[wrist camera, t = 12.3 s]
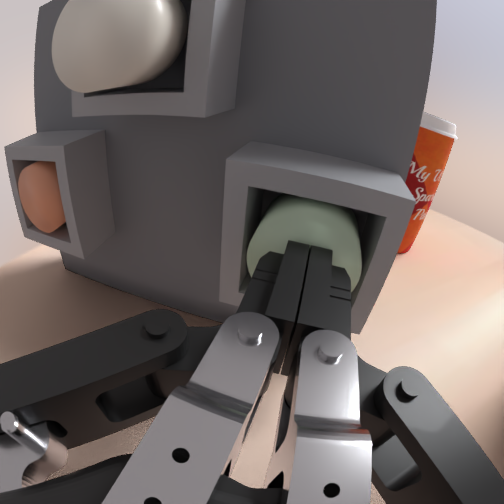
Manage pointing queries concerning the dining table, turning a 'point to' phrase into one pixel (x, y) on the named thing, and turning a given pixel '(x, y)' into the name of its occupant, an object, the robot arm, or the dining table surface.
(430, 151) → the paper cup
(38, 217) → the terracotta button
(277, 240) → the sage button
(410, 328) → the dining table surface
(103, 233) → the button panel
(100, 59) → the cream button
